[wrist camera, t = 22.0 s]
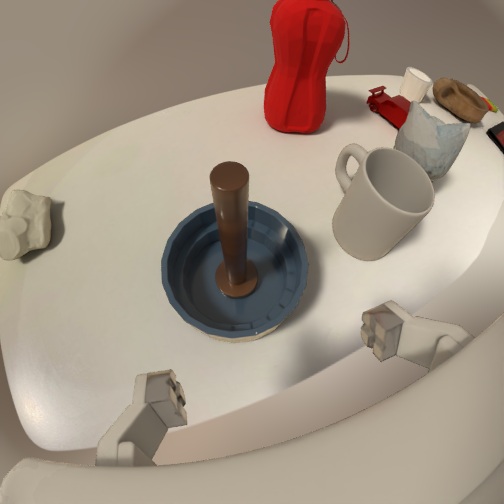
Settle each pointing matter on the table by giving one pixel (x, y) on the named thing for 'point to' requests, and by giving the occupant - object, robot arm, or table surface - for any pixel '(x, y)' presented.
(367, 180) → the mug
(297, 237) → the stir bowl
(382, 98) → the toy car
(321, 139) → the table surface
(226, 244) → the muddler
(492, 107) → the popsicle
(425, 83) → the white tapered cup
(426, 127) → the figurine
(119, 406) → the table surface
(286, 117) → the water bottle
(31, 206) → the decorative stone
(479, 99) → the bowl
